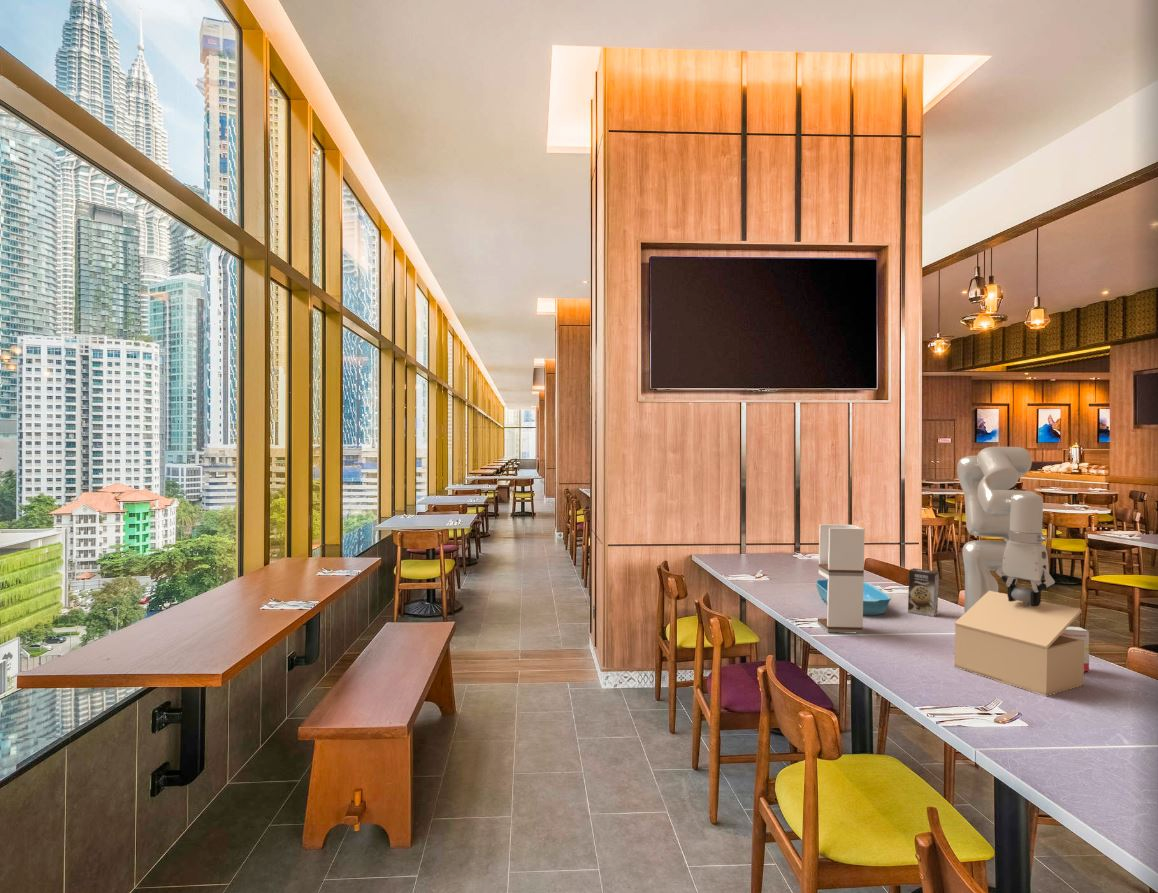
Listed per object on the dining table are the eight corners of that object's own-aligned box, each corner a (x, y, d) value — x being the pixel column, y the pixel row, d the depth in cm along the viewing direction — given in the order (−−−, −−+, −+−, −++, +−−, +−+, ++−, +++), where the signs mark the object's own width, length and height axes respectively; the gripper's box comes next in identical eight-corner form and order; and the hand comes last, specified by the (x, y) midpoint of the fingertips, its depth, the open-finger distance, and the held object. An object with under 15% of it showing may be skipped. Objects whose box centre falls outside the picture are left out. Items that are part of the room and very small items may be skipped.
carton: (991, 658, 199) (992, 618, 199) (1083, 685, 178) (1084, 640, 178) (954, 667, 191) (955, 625, 190) (1045, 696, 169) (1047, 649, 169)
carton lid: (989, 592, 198) (985, 575, 197) (1081, 611, 177) (1077, 593, 176) (955, 625, 190) (950, 607, 189) (1047, 649, 169) (1042, 629, 168)
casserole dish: (899, 619, 243) (899, 600, 242) (836, 617, 244) (836, 598, 244) (863, 595, 279) (863, 578, 279) (808, 594, 281) (809, 577, 281)
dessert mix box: (907, 612, 252) (908, 569, 251) (912, 609, 256) (912, 567, 256) (933, 617, 246) (934, 573, 245) (938, 613, 250) (939, 571, 250)
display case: (850, 624, 234) (852, 524, 233) (862, 633, 223) (864, 528, 223) (817, 624, 234) (819, 524, 234) (827, 632, 223) (830, 528, 223)
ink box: (1079, 667, 193) (1080, 626, 192) (1089, 673, 188) (1090, 631, 188) (1046, 664, 194) (1047, 624, 194) (1055, 670, 189) (1056, 629, 189)
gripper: (1067, 541, 179) (1065, 609, 180) (1001, 532, 194) (999, 595, 194) (1052, 543, 175) (1050, 612, 176) (986, 534, 190) (984, 597, 191)
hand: (1023, 602), depth 185 cm, fingers closed on carton lid, 5 cm apart
